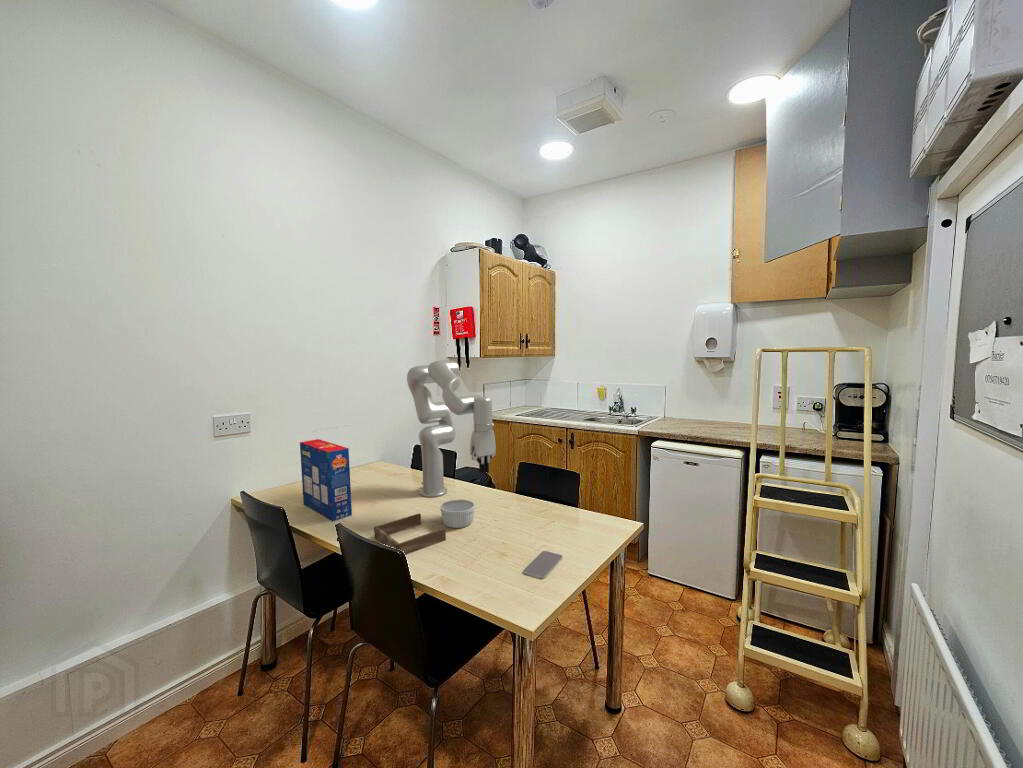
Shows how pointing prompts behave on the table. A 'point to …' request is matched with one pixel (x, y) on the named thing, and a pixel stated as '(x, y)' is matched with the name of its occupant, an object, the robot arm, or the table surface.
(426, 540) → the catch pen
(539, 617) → the table surface
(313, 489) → the blue cardboard box
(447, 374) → the robot arm
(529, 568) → the smartphone
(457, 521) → the ramekin
